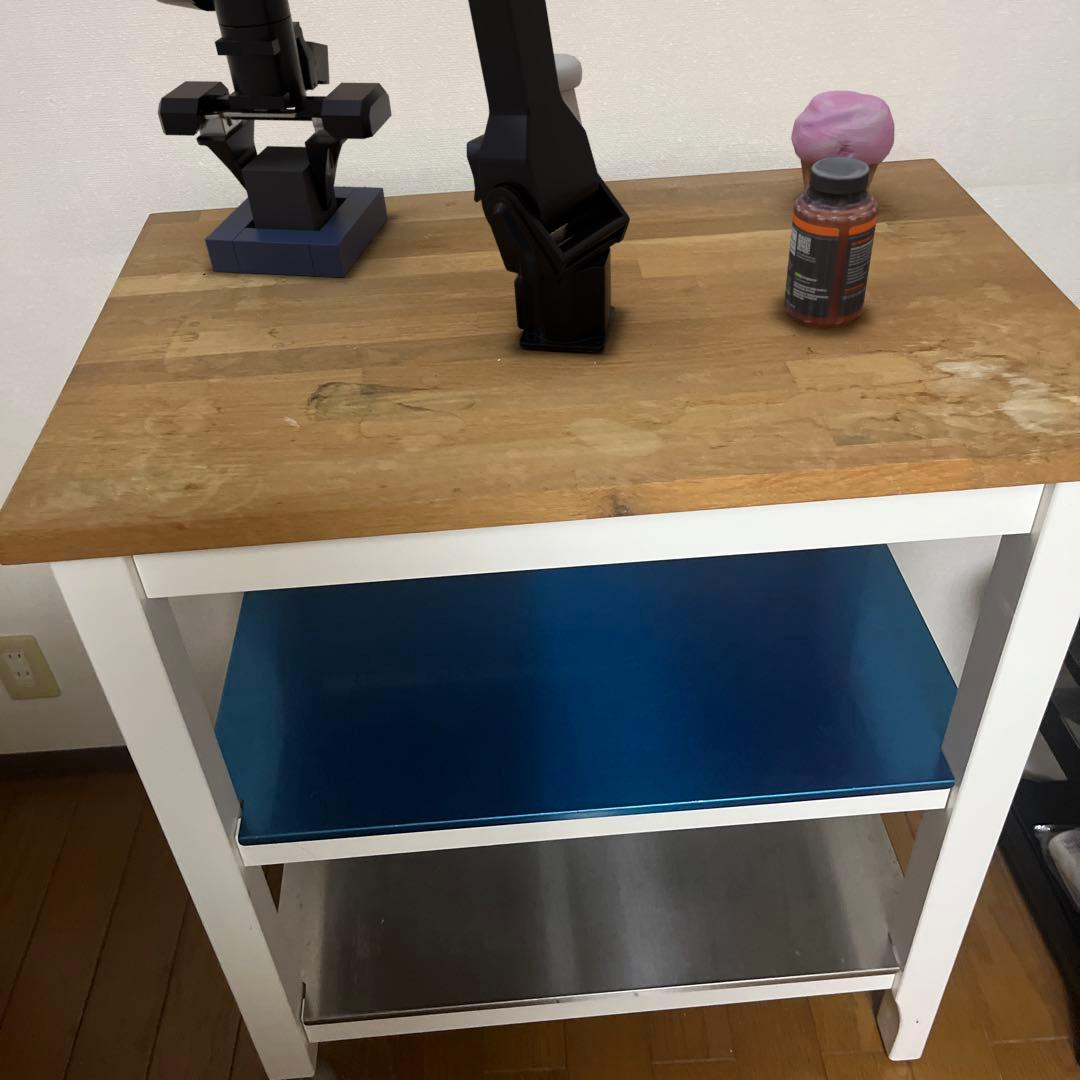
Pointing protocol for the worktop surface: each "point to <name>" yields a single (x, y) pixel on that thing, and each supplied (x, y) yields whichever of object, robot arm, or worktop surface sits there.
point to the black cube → (284, 191)
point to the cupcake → (843, 130)
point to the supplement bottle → (831, 244)
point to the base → (300, 239)
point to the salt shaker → (569, 80)
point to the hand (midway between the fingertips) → (295, 208)
